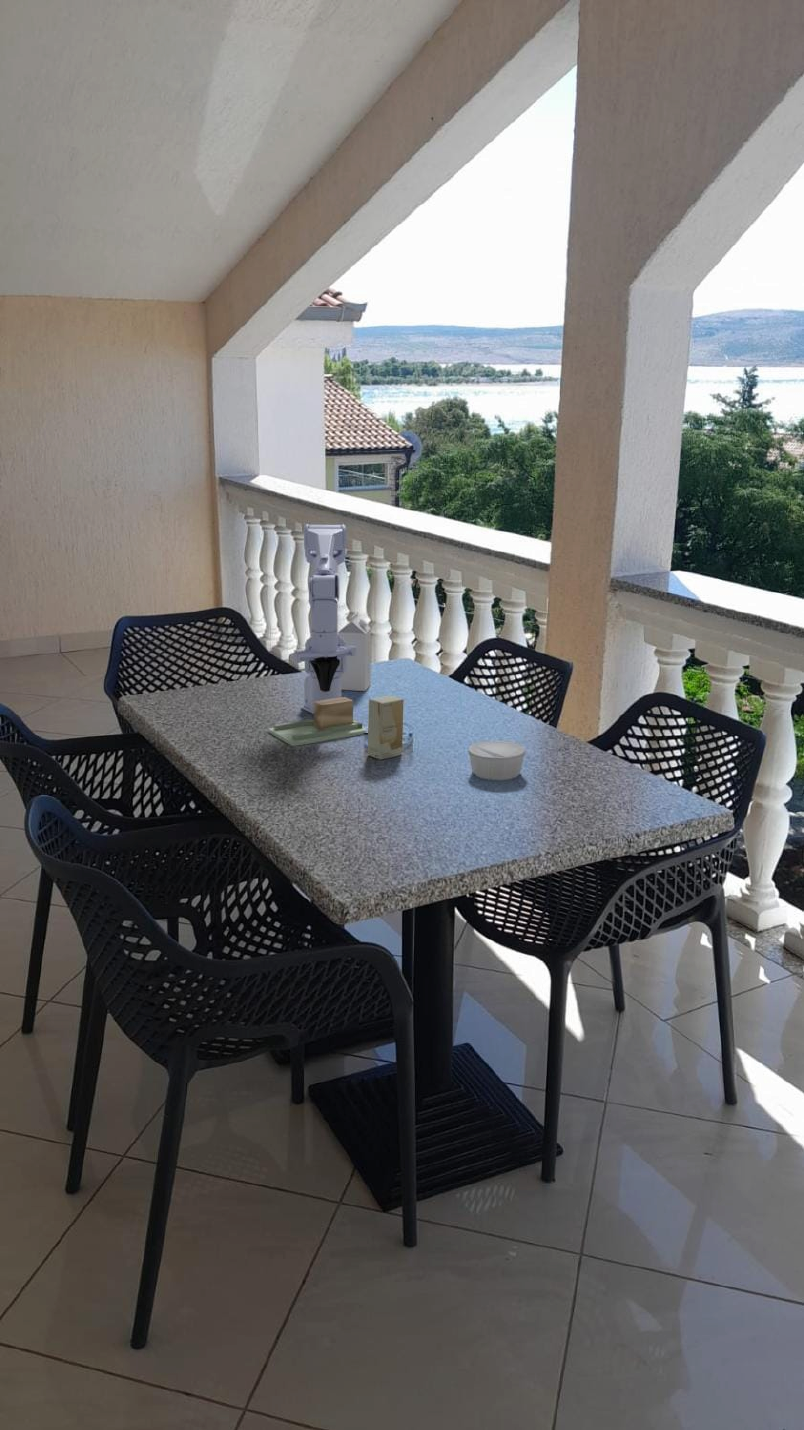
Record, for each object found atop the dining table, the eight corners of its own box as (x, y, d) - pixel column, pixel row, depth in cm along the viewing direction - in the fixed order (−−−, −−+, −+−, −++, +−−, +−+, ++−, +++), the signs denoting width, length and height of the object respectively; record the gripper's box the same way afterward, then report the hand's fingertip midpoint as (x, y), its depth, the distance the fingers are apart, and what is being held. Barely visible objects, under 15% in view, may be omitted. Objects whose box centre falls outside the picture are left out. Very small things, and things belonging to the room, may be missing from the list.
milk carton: (338, 690, 282) (337, 616, 276) (344, 683, 289) (343, 611, 283) (365, 691, 281) (365, 617, 275) (370, 684, 287) (371, 612, 282)
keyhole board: (268, 732, 247) (267, 724, 246) (342, 719, 256) (342, 712, 256) (292, 746, 237) (292, 738, 236) (369, 733, 247) (369, 725, 246)
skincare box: (380, 760, 228) (380, 703, 225) (366, 755, 231) (367, 699, 228) (403, 754, 232) (404, 698, 229) (390, 749, 236) (390, 694, 232)
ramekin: (460, 779, 219) (461, 753, 217) (477, 762, 229) (477, 737, 227) (516, 786, 215) (517, 760, 213) (530, 768, 225) (531, 743, 223)
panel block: (313, 727, 248) (313, 701, 246) (345, 722, 252) (345, 696, 250) (321, 731, 245) (321, 705, 243) (353, 726, 249) (353, 700, 247)
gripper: (302, 637, 234) (303, 699, 238) (362, 630, 241) (362, 690, 245) (287, 630, 240) (289, 691, 243) (347, 624, 247) (347, 683, 251)
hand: (324, 690), depth 245 cm, fingers closed
